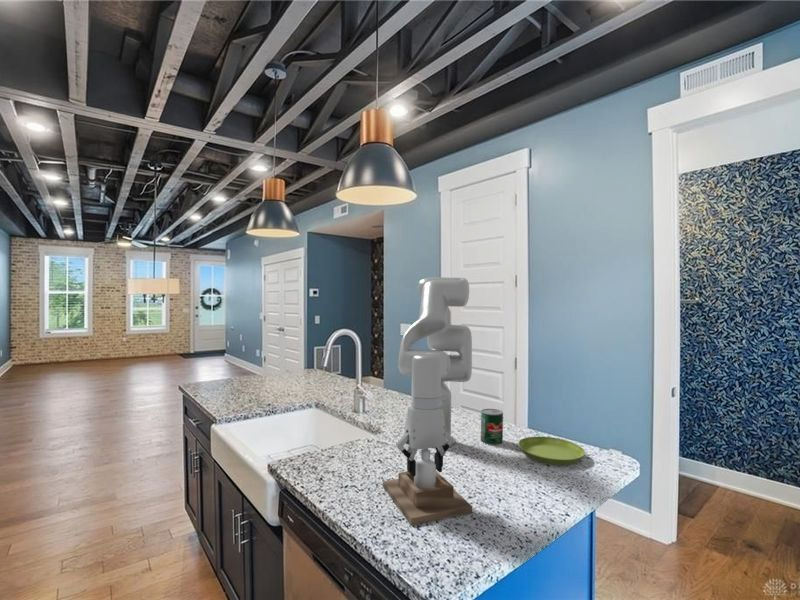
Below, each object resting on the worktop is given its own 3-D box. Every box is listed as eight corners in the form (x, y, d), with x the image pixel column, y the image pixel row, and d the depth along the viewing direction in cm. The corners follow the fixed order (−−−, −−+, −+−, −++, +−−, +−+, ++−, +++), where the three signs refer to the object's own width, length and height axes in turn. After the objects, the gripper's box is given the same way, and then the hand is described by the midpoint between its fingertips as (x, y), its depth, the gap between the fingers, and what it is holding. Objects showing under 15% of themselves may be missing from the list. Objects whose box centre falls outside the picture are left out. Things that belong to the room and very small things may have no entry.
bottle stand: (382, 486, 109) (382, 468, 109) (435, 478, 115) (435, 460, 115) (410, 525, 91) (411, 502, 91) (472, 512, 97) (472, 491, 97)
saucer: (505, 449, 140) (505, 440, 140) (553, 442, 147) (553, 433, 147) (547, 473, 120) (547, 462, 121) (599, 464, 128) (599, 454, 128)
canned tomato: (493, 447, 141) (494, 415, 141) (476, 440, 147) (476, 410, 147) (507, 442, 146) (507, 412, 146) (489, 436, 152) (490, 407, 152)
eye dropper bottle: (426, 487, 107) (428, 441, 107) (437, 495, 101) (438, 447, 102) (412, 489, 105) (413, 442, 106) (421, 498, 100) (423, 449, 100)
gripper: (449, 396, 110) (448, 462, 110) (389, 401, 104) (388, 471, 103) (463, 403, 103) (462, 473, 103) (399, 409, 97) (398, 483, 96)
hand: (425, 471), depth 103 cm, fingers open, 6 cm apart
